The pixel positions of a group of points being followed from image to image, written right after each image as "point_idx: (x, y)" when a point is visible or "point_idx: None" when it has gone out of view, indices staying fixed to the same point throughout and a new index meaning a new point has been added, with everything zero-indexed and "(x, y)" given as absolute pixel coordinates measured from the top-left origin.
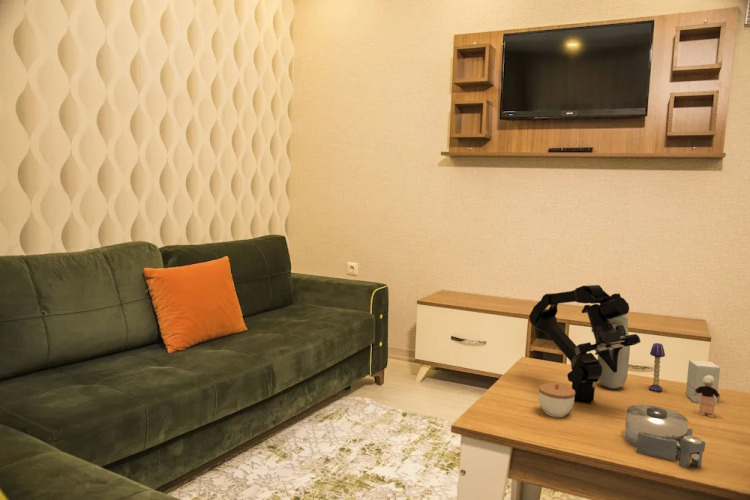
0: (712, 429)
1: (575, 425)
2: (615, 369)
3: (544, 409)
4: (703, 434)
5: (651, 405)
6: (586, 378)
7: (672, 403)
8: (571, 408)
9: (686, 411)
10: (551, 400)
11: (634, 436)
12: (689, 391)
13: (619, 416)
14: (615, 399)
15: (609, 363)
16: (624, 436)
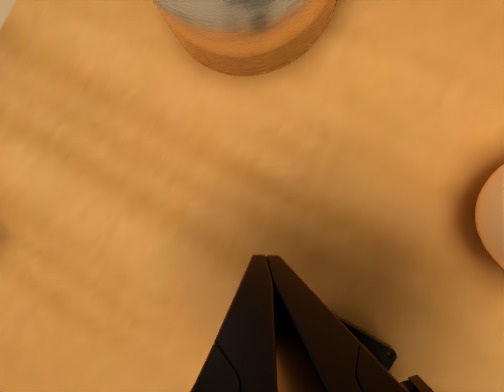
0: (25, 115)
1: (478, 98)
2: (267, 265)
3: None
4: (69, 75)
5: (187, 3)
6: (403, 385)
7: (28, 318)
8: (499, 168)
9: (22, 250)
10: None
11: None
12: None
13: (262, 197)
14: (200, 358)
15: (344, 327)
16: (330, 15)
